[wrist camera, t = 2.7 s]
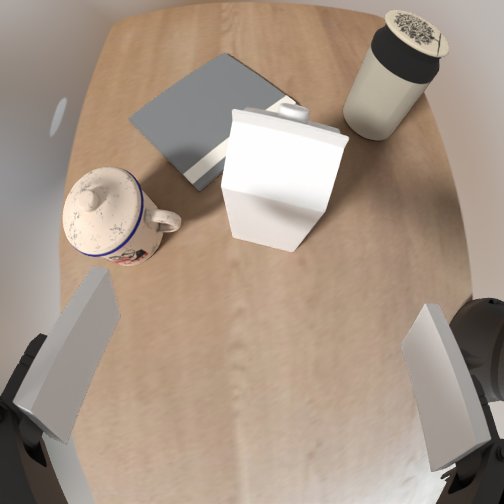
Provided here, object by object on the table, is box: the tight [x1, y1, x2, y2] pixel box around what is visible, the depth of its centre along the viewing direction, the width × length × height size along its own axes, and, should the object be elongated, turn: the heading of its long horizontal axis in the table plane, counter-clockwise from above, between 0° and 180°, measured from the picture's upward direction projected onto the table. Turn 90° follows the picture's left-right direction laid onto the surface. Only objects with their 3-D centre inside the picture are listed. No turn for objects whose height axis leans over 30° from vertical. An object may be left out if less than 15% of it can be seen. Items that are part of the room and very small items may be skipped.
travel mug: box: [343, 10, 449, 140], centre depth 29 cm, size 8×8×18 cm
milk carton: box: [221, 103, 349, 252], centre depth 26 cm, size 7×7×19 cm
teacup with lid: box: [63, 167, 181, 266], centre depth 29 cm, size 12×9×12 cm
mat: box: [129, 53, 298, 192], centre depth 37 cm, size 18×16×1 cm
